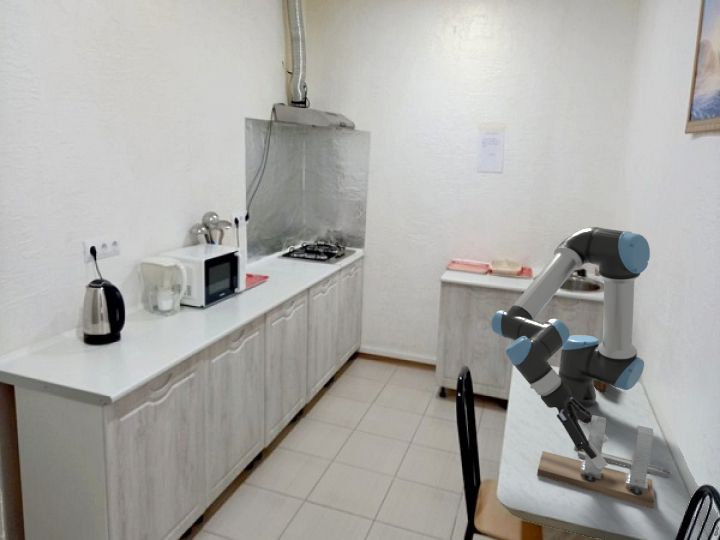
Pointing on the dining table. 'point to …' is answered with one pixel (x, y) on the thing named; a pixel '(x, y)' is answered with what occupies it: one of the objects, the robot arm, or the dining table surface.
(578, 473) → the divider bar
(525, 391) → the dining table surface
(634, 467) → the fixed leg
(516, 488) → the dining table surface
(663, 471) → the adjustable wrench
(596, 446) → the block
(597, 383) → the food container
